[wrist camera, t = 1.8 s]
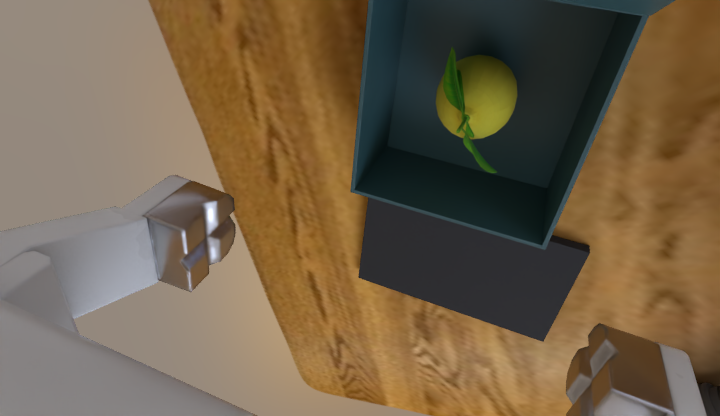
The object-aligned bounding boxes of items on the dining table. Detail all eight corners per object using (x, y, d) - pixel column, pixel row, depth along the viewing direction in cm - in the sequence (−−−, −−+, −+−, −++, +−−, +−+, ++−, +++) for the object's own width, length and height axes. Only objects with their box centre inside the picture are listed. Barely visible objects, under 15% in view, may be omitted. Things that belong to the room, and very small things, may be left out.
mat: (589, 245, 39) (590, 252, 38) (543, 334, 46) (543, 341, 45) (372, 183, 44) (369, 188, 43) (361, 272, 51) (358, 277, 50)
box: (411, -48, 32) (371, -35, 26) (633, -15, 28) (651, 10, 22) (384, 146, 41) (350, 192, 35) (549, 190, 38) (545, 250, 31)
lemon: (507, 132, 36) (490, 196, 28) (437, 110, 37) (402, 165, 29) (542, 49, 32) (532, 96, 24) (462, 27, 33) (428, 65, 25)
